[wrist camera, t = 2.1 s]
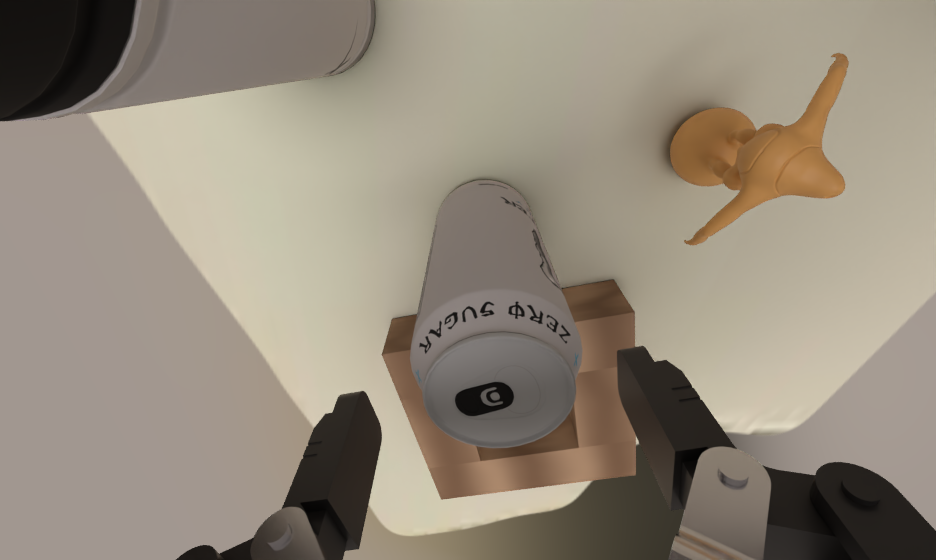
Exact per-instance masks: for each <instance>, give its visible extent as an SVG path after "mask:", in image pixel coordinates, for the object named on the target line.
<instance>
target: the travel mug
mask: <svg viewBox="0 0 936 560" xmlns="http://www.w3.org/2000/svg"><path fill="white" fill-rule="evenodd" d="M374 24H375V6H374V0H0V121H24V120H46V119H52V118H59V117H64V116H67V115H71V114H81V113H82V114H83V113H91V112H98V111H104V110H111V109H117V108H124V107H130V106H137V105H143V104H150V103H156V102H163V101H169V100H176V99H183V98H189V97H196V96H202V95H209V94H215V93H222V92H228V91H235V90H241V89H248V88H254V87H261V86H267V85H274V84H280V83H287V82H293V81H300V80H306V79H313V78H319V77H326V76H332V75H335V74H339V73H342V72H344V71H345V70H347V69H349V68H351V67H352V66H353V65H354V64H355V63H356V62H358V61H359V60H360V58H361V57H362V55H363V54H364V53H365V51H366V50H367V47H368V45H369V43H370V40H371V38H372V34H373V29H374Z"/></svg>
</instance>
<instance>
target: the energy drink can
mask: <svg viewBox="0 0 936 560" xmlns="http://www.w3.org/2000/svg"><path fill="white" fill-rule="evenodd" d="M582 351H583V350H582V344H581V337H580V335H579V332H578V330H577V327H576V325H575V322H574V320H573V317H572V314H571V312H570V309H569V307H568V304H567V302H566V299H565V297H564V294H563V292H562V289H561V287H560V284H559V281H558V279H557V276H556V274H555V271H554V269H553V266H552V264H551V261H550V259H549V256H548V254H547V251H546V248H545V246H544V243H543V241H542V238H541V236H540V233H539V231H538V228H537V226H536V223H535V221H534V218H533V215H532V213H531V210H530V208H529V206H528V204H527V202H526V201H525V199H524V198H523V196H522V195H521V194H519V193H518V192H517V191H516V190H515V189H513V188H512V187H510V186H508V185H507V184H504V183H501V182H498V181H492V180H477V181H473V182H469V183H466V184H464V185H462V186H460V187H458V188H457V189H455V190H454V191H453V192H451V193H450V194H449V195H448V197H447V198H446V199H445V200H444V202H443V203H442V205H441V207H440V208H439V211H438V215H437V218H436V223H435V228H434V233H433V238H432V243H431V248H430V253H429V258H428V263H427V268H426V273H425V278H424V283H423V288H422V293H421V298H420V303H419V308H418V313H417V318H416V323H415V328H414V333H413V338H412V343H411V352H410V362H411V368H412V372H413V374H414V377H415V379H416V381H417V384H418V386H419V387H420V389H421V390H422V396H423V403H424V407H425V409H426V411H427V414H428V416H429V417H430V418H431V420H432V421H433V422H434V424H435V425H436V426H437V427H438V428H439V429H441V430H442V431H443V432H444V433H445V434H447V435H449V436H451V437H452V438H454V439H456V440H458V441H461V442H463V443H466V444H469V445H474V446H478V447H486V448H509V447H515V446H521V445H524V444H527V443H530V442H534V441H536V440H538V439H540V438H542V437H544V436H546V435H548V434H549V433H550V432H552V431H553V430H555V429H556V428H557V427H558V426H559V425H560V424H561V423H562V422H563V421H564V420H565V419H566V417H567V416H568V414H569V413H570V411H571V409H572V407H573V404H574V402H575V397H576V383H575V380H576V377H577V375H578V372H579V369H580V366H581V361H582Z"/></svg>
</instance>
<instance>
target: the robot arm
mask: <svg viewBox="0 0 936 560" xmlns="http://www.w3.org/2000/svg"><path fill="white" fill-rule="evenodd" d="M617 378H618V392H619V396H620V400H621V403H622V406H623V408H624V410H625V412H626V415H627V417H628V419H629V421H630V423H631V425H632V428H633V430H634V432H635V434H636V436H637V438H638V441H639V443H640V445H641V447H642V449H643V452H644V454H645V456H646V458H647V460H648V462H649V465H650V467H651V469H652V471H653V473H654V475H655V477H656V480H657V482H658V484H659V486H660V488H661V491H662V493H663V495H664V497H665V499H666V501H667V504H668V506H669V508H670V510H677V509H684V510H685V511H684V515H683V519H682V523H681V526H680V530H679V532H678V534H676V536H675V539H674V542H673V546H672V549H671V553H670V557H669V560H936V531H935V530H934V528H933V527H932V526H931V525H930V524H929V523H928V522H927V521H926V520H925V519H924V518H923V517H922V516H921V514H919V512H918V511H917V510H916V509H915V508H914V507H913V506H912V505H911V504H910V503H909V502H908V501H907V500H906V498H905V497H903V495H902V494H901V493H900V492H899V491H898V490H897V489H896V488H895V487H894V486H893V485H892V484H891V483H889V482H888V481H887V480H886V479H884V478H883V477H881V476H879V475H878V474H876V473H874V472H872V471H870V470H868V469H865V468H863V467H860V466H857V465H854V464H850V463H843V462H833V463H827V464H825V465H823V466H821V467H820V468H819V469H818V470H817V472H816V475H809V474H802V473H794V472H788V471H781V470H776V469H772V468H768V467H765V466H763V465H761V464H760V463H759V462H758V461H757V460H756V459H754V458H753V457H752V456H750V455H748V454H747V453H745V452H743V451H740V450H738V449H737V448H736V447H735V446H734V445H733V444H732V442H731V441H730V439H729V438H728V437H727V435H726V434H725V432H724V431H723V429H722V428H721V426H720V425H719V424H718V422H717V421H716V419H715V418H714V416H713V415H712V414H711V412H710V411H709V409H708V408H707V406H706V405H705V404H704V402H703V401H702V400H700V396H699V395H698V394H697V392H696V391H695V389H694V388H692V385H691V384H690V382H689V381H688V379H687V378H686V376H685V375H684V374H683V372H682V371H681V370H679V369H678V368H677V367H675V366H674V365H672V364H671V363H669V362H668V361H667V360H663V361H657V362H654V360H653V359H652V357H651V356H650V354H649V353H648V351H647V349H646V348H645V347H644V346H639V347H633V348H627V349H621V350H618V351H617ZM381 440H382V432H381V426H380V423H379V420H378V418H377V416H376V414H375V411H374V409H373V407H372V405H371V403H370V400H369V398H368V396H367V394H366V393H365V392H364V391H360V392H354V393H348V394H342V395H340V396H339V397H338V399H337V402H336V404H335V407H334V410H333V413H328V414H325V415H324V416H323V418H322V419H321V420H320V421H319V423H318V424H317V425H316V426H315V428H314V430H313V432H312V435H311V437H310V440H309V442H308V446H307V447H306V450H305V452H304V455H303V459H302V460H301V462H300V465H299V467H298V470H297V473H296V475H295V477H294V480H293V482H292V485H291V487H290V490H289V492H288V495H287V497H286V500H285V502H284V505H283V507H282V509H281V510H279V511H277V512H276V513H274V514H272V515H271V516H270V517H269V518H268V519H267V520H265V521H264V522H263V524H262V525H261V526H260V527H259V529H258V530H257V532H256V534H255V535H254V538H252V539H250V540H248V541H246V542H244V543H242V544H239V545H237V546H235V547H233V548H231V549H229V550H226V551H224V552H222V553H220V554H219V553H218V552H217V551H216V550H215V549H214V548H213V547H211V546H207V545H202V546H198V547H195V548H192V549H191V550H189V551H187V552H185V553H184V554H183V555H181V556H180V557H179V558H177V559H176V560H342V559H343V556H344V552H345V551H346V550H354V549H359V546H360V542H361V536H362V531H363V527H364V522H365V518H366V513H367V508H368V503H369V499H370V494H371V489H372V484H373V480H374V475H375V470H376V465H377V460H378V456H379V451H380V446H381Z"/></svg>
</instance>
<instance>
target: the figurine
mask: <svg viewBox="0 0 936 560" xmlns="http://www.w3.org/2000/svg"><path fill="white" fill-rule="evenodd" d="M831 57H836V60H835V61H834V63H833V64H832V65H831V66H830V68H829V70H828V74H827V76H826V77H825V78H824V80H823V81H822V83H821V84H820V86H819V88H818V89H817V91H816V93H815V95H814V96H813V98H812V100H811V102H810V103H809V105H808V107H807V109H806V111H805V113H804V114H803V116H802V117H801V118H800V119H799V120H798V121H797V122H795V123H794V124H792V125H789V126H785V127H784V126H782V125H779V124H766V125H764V126H763V127H761V128H760V129H759V130H756V129H755V127H754V125H753V123H752V122H751V120H750V119H749V118H748V117H747V116H745V115H744V114H743V113H741V112H739V111H737V110H734V109H730V108H712V109H708V110H705V111H702V112H700V113H697V114H696V115H694V116H692V117H691V118H689V119H688V120H687V121H686V122H685V123H684V124H683V125H682V126H681V127H680V128H679V129H678V131H677V132H676V134H675V136H674V138H673V140H672V143H671V148H670V159H671V163H672V166H673V168H674V170H675V171H676V173H677V174H678V175H679V176H680V177H681V178H682V179H684V180H685V181H687V182H689V183H691V184H694V185H698V186H715V185H720V184H723V183H724V184H725V185H726V186H727V187H728V188H729V189H731V190H740V192H739V194H738V195H737V196H736V197H735V198H734V199H733V200H732V201H731V202H730V203H728V204H727V205H726V206H725V207H724V208H723V209H721V210H720V211H719V212H718V213H717V214H716V215H715V216H714V217H713V218H712V219H711V220H710V221H709V222H708V223H707V224H706V225H705V226H704V227H702V228H701V229H700V230H699V231H698V232H697V233H696V234H695V235H694V237H693V238H692V239H691V240H689V241H686V240H684V242H685V243H686V244H689V245H697V244H700V243H702V242H704V241H705V240H706V239H707V238H708V237H709V236H712V235H713V234H715V233H716V232H718V231H719V230H721V229H723V228H724V227H726V226H727V225H729V224H730V223H732V222H733V221H734V220H736V219H737V218H738V217H739V216H741V215H742V214H743V213H745V212H746V211H748V210H750V209H752V208H754V207H756V206H757V205H759V204H761V203H763V202H765V201H768V200H771V199H774V198H777V197H780V196H784V195H797V196H805V197H813V198H832V197H836V196H838V195H840V194H841V193H842V192H843V191H844V189H845V182H844V179H843V176H842V175H841V174H840V173H839V172H838V171H837V170H836V169H835V167H834V166H833V165H832V164H831V163H830V162H829V161H828V160H827V158H826V157H825V155H824V154H823V151H822V136H823V132H824V128H825V124H826V120H827V116H828V113H829V111H830V109H831V107H832V106H833V104H834V102H835V100H836V98H837V96H838V93H839V91H840V89H841V86H842V83H843V81H844V78H845V75H846V70H847V68H848V64H849V62H848V60H847V57H846V56H845V55H844V54H840V53H836V54H833V55H832V56H831Z"/></svg>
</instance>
